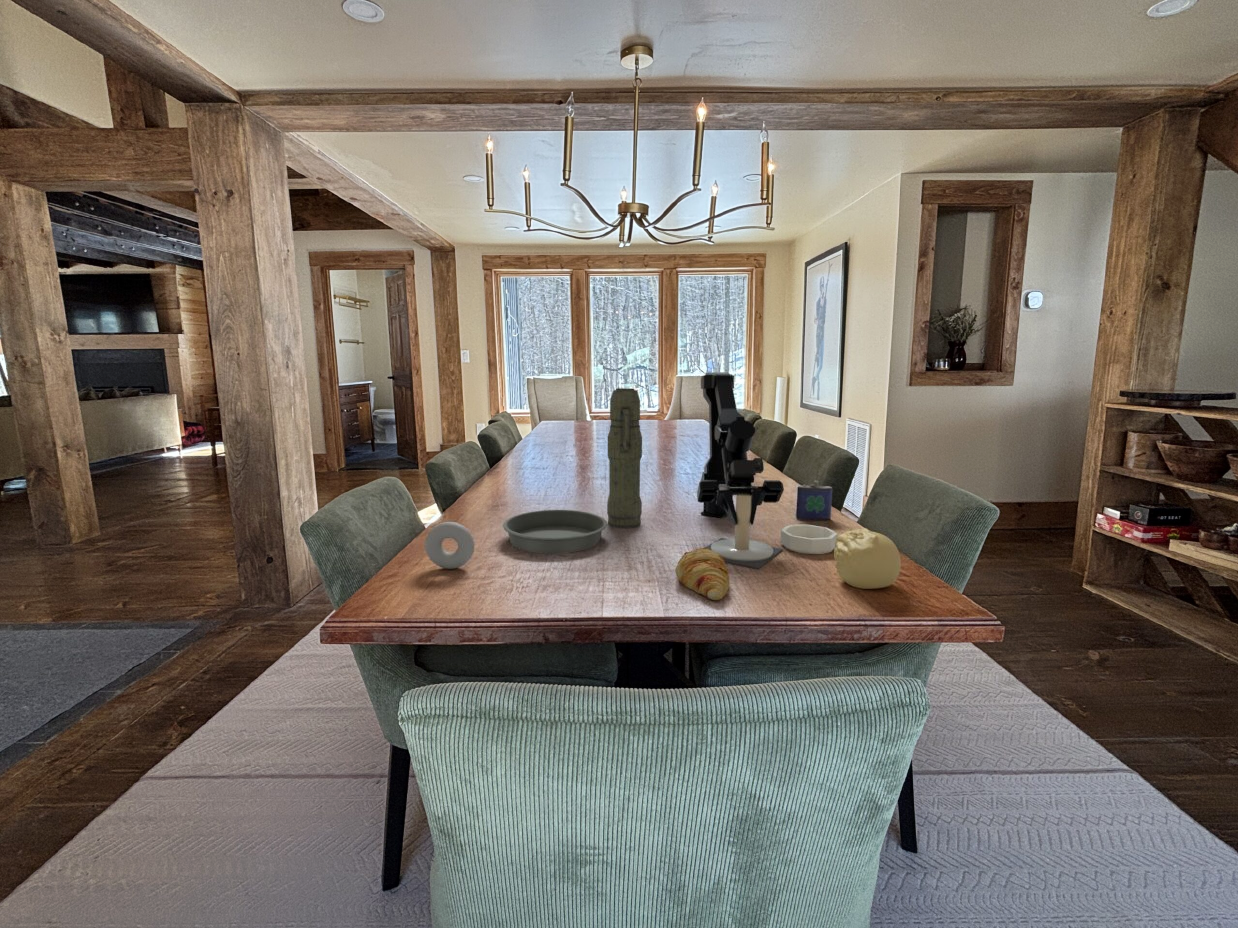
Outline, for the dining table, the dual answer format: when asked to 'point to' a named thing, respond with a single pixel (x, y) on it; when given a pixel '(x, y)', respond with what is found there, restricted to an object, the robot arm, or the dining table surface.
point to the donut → (446, 558)
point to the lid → (742, 537)
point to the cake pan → (554, 530)
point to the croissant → (704, 573)
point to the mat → (750, 563)
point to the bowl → (808, 539)
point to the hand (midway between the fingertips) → (744, 524)
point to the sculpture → (866, 559)
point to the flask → (814, 502)
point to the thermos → (624, 459)
